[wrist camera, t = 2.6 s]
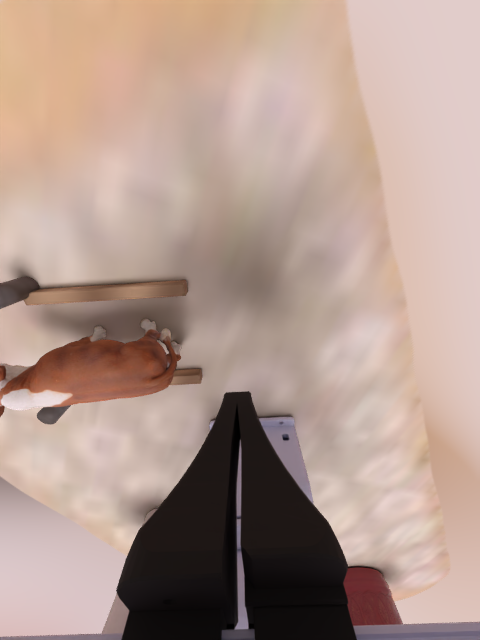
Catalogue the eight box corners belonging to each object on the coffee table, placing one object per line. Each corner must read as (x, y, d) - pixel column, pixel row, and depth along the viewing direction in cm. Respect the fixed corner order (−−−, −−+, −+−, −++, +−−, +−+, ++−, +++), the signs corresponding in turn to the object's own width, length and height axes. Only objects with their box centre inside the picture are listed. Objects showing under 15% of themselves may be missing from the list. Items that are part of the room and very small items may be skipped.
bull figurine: (38, 317, 19) (-85, 379, 12) (189, 314, 19) (159, 373, 12) (56, 358, 21) (-40, 433, 14) (195, 355, 21) (172, 429, 14)
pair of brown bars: (183, 266, 18) (169, 279, 14) (203, 385, 23) (197, 416, 19) (15, 277, 18) (-42, 292, 14) (72, 392, 23) (41, 424, 19)
